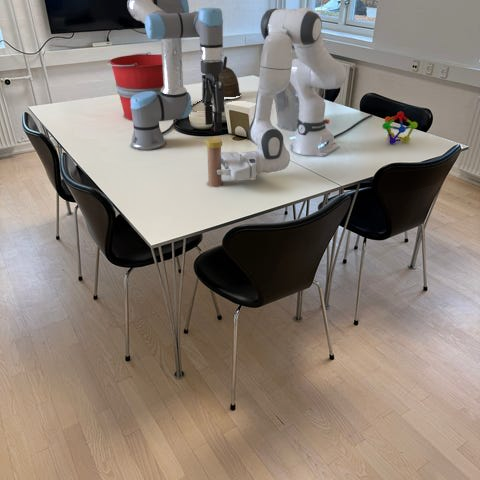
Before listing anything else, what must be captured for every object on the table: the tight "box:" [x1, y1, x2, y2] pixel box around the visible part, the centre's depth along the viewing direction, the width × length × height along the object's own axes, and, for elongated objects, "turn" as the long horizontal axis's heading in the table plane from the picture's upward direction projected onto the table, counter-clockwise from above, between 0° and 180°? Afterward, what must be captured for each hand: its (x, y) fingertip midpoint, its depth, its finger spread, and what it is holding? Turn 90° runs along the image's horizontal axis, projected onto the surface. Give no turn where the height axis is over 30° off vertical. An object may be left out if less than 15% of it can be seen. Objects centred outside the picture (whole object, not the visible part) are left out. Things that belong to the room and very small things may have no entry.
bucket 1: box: [106, 51, 164, 121], centre depth 240 cm, size 35×35×30 cm
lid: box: [205, 137, 223, 148], centre depth 162 cm, size 6×6×2 cm
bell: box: [219, 56, 242, 97], centre depth 278 cm, size 19×26×20 cm
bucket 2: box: [273, 82, 326, 131], centre depth 226 cm, size 30×30×28 cm
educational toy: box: [382, 110, 418, 145], centre depth 207 cm, size 16×13×15 cm
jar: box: [206, 146, 223, 187], centre depth 166 cm, size 5×5×17 cm
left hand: (213, 127), depth 159 cm, fingers open, 8 cm apart
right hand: (213, 167), depth 167 cm, fingers open, 8 cm apart
